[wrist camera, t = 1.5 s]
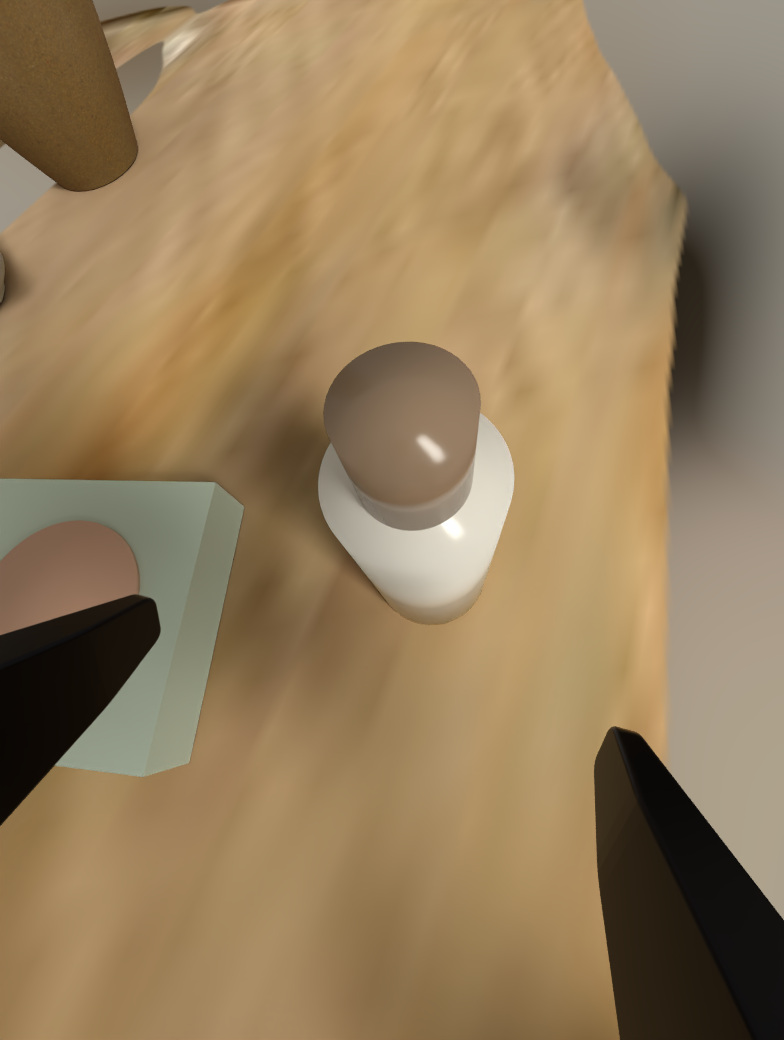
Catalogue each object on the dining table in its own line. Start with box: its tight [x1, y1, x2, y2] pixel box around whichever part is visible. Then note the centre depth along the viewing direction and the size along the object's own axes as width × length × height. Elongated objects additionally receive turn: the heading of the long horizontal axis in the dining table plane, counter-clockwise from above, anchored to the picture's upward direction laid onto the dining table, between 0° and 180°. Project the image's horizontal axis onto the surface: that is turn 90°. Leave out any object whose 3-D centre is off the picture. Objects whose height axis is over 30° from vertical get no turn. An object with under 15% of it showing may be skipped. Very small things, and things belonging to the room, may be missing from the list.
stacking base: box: [0, 479, 244, 777], centre depth 20 cm, size 12×12×3 cm
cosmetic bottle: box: [318, 342, 514, 625], centre depth 14 cm, size 5×5×13 cm
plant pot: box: [0, 0, 138, 191], centre depth 29 cm, size 15×15×16 cm
